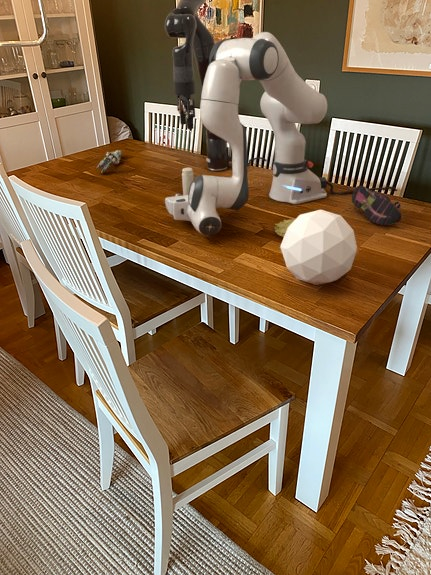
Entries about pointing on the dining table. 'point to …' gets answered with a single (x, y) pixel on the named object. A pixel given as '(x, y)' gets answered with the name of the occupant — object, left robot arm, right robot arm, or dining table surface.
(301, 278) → the sphere
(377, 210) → the athletic shoe
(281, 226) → the decorative object
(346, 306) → the dining table surface
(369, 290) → the dining table surface
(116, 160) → the figurine
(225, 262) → the dining table surface
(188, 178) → the beige cylinder
